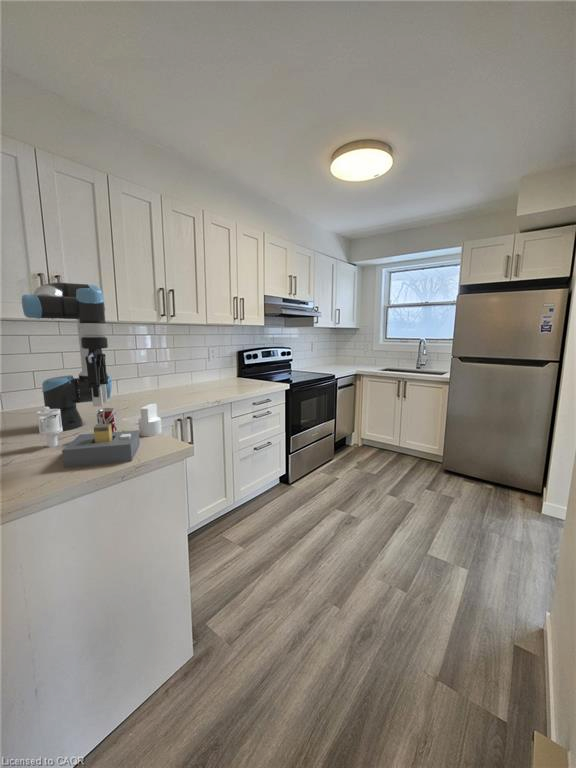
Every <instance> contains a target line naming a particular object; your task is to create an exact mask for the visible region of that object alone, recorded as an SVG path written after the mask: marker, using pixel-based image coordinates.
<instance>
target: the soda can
mask: <svg viewBox="0 0 576 768" xmlns="http://www.w3.org/2000/svg"><path fill="white" fill-rule="evenodd" d="M96 419H97V421H96V422H97V424H108V423H111V428H112V432H118V423H117V413H116V412H115V410H114V408H113V407H105V408H100V409H98V410H97V414H96Z"/></svg>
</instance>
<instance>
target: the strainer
mask: <svg viewBox="0 0 576 768" xmlns="http://www.w3.org/2000/svg"><path fill="white" fill-rule="evenodd" d="M49 412H50V413H49ZM56 414H58V415H57V416H56V417H54V416H52V417H51V415H56ZM36 416H37V424H38V430H39V435H41V436H46V439H47V446H48V448H54V447H57V445H58V446H59V444H58V442H59V441H58V434H59V433H62V432H63V429H62V421H61V412H60V409H50V408H49V407H45V406H44V407H43V409H42V410H39V411H36ZM47 417H50V418H47ZM44 419H45V420H44ZM43 421H44V422H43Z"/></svg>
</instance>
